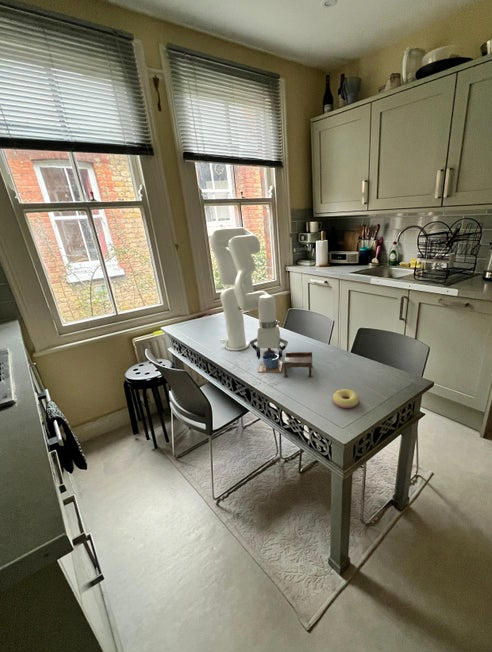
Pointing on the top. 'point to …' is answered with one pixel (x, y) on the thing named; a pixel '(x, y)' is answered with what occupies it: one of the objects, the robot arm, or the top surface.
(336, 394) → the donut
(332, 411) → the top surface
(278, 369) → the mat
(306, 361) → the stand
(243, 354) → the top surface
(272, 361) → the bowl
